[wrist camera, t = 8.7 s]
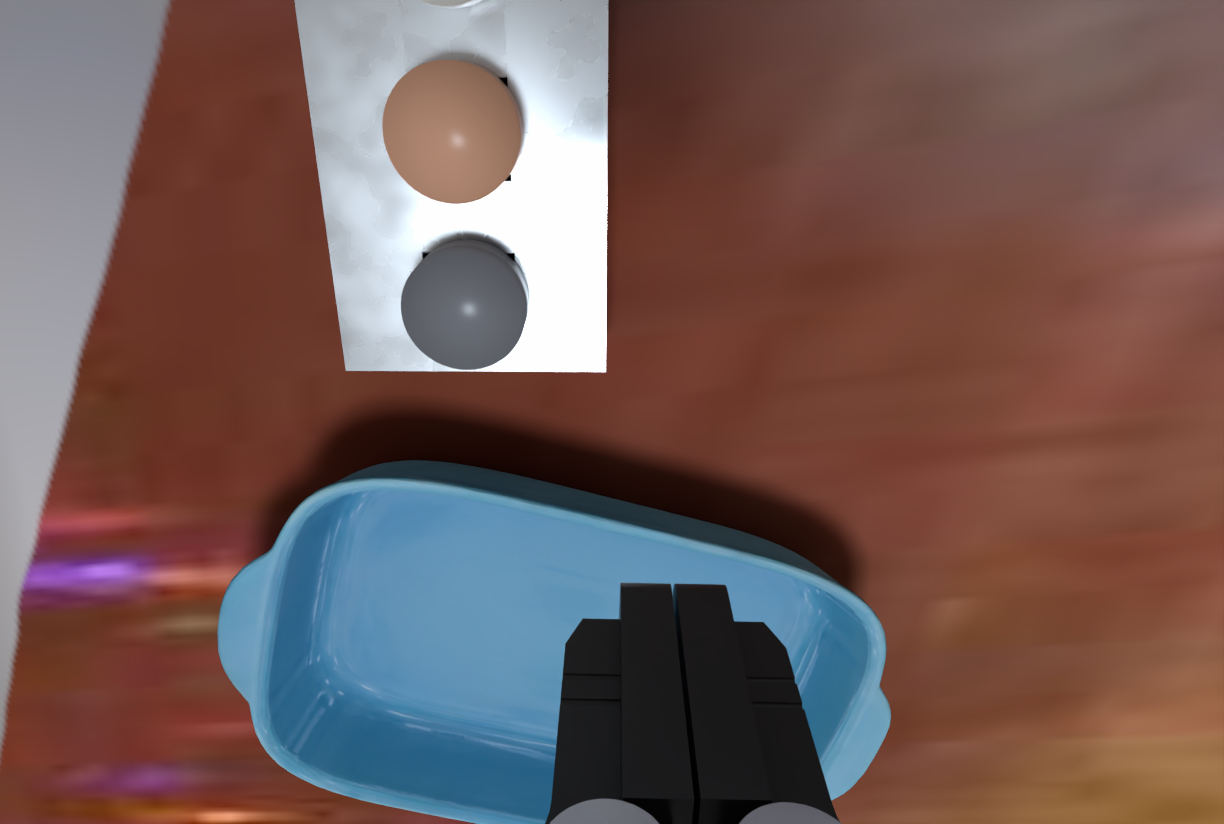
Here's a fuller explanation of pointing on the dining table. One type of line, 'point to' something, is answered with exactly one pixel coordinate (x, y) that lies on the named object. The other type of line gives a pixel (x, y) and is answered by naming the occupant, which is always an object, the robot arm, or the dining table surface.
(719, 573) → the casserole dish
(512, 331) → the knob
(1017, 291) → the dining table surface
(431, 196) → the tan egg
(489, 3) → the mount
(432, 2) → the grey oval piece
